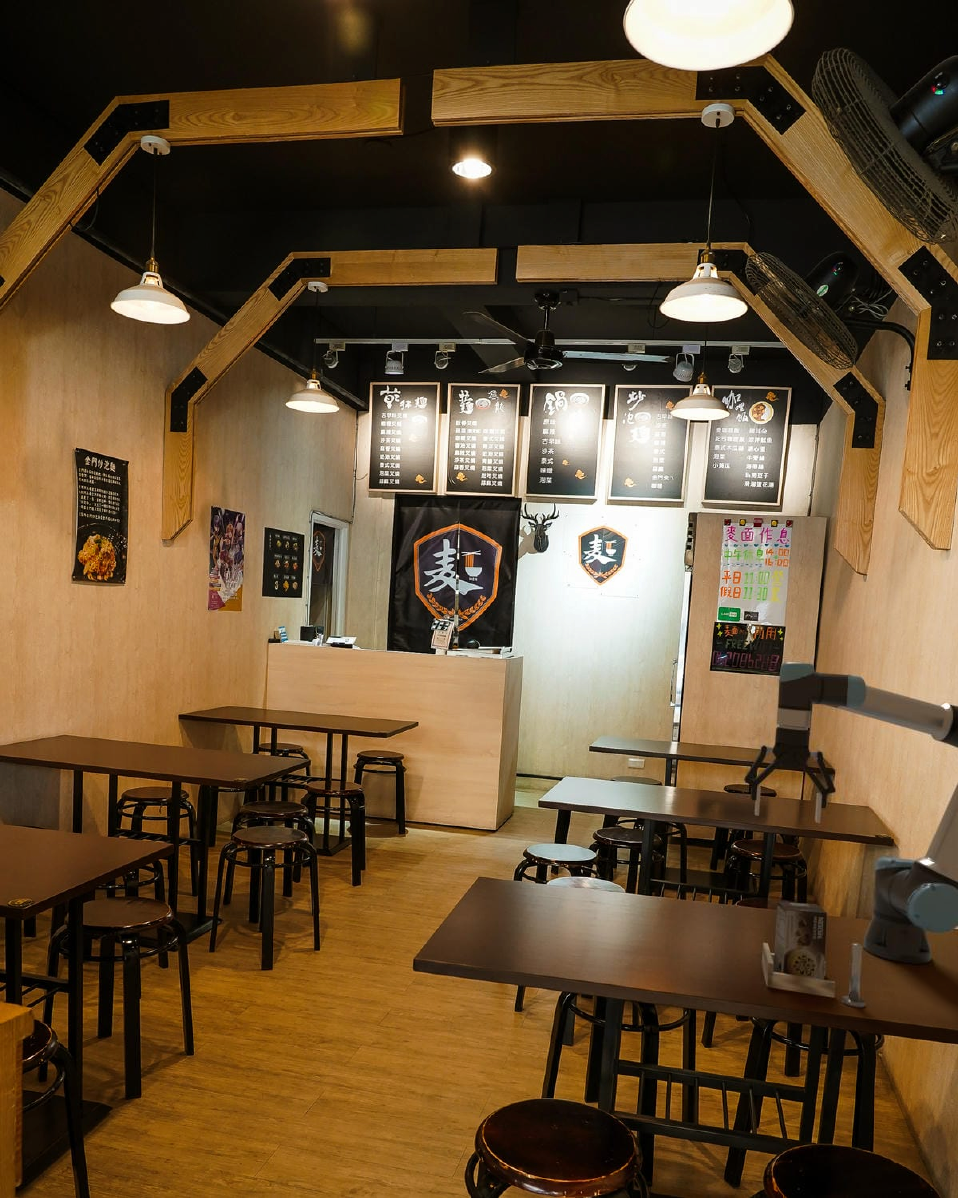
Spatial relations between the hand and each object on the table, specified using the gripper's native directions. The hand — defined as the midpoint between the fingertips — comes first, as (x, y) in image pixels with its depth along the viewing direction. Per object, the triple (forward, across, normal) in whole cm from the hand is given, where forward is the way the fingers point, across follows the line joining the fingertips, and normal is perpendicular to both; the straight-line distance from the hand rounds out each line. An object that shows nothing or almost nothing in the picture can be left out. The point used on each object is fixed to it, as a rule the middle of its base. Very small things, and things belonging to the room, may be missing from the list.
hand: (786, 818), depth 210 cm
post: (+33, -13, +21) cm, 41 cm away
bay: (+33, -3, +12) cm, 35 cm away
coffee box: (+33, -3, +12) cm, 35 cm away
